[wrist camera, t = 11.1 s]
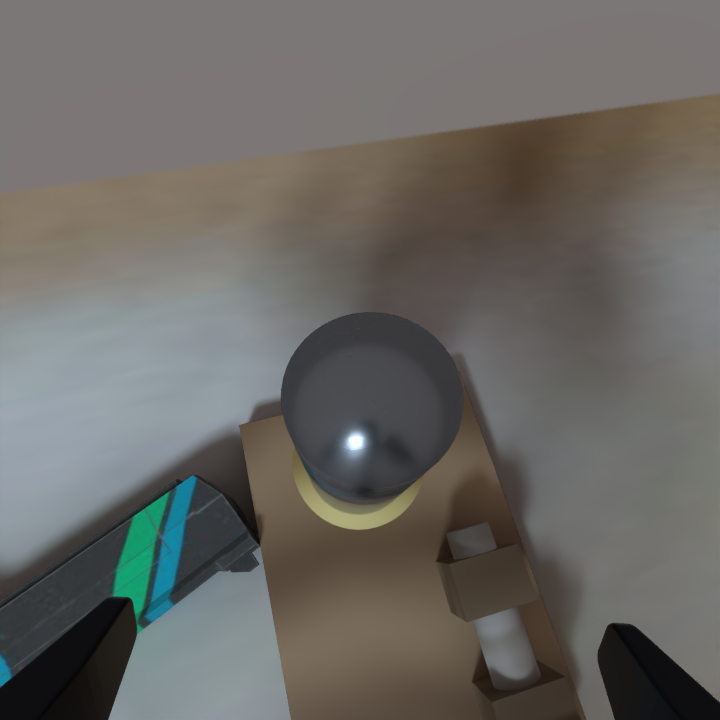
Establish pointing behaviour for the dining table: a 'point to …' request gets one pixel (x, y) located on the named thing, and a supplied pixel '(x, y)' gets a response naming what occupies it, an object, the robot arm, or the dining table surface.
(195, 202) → the dining table surface
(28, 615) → the handgun
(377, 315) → the silver metal cylinder
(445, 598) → the door lock
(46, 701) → the robot arm
